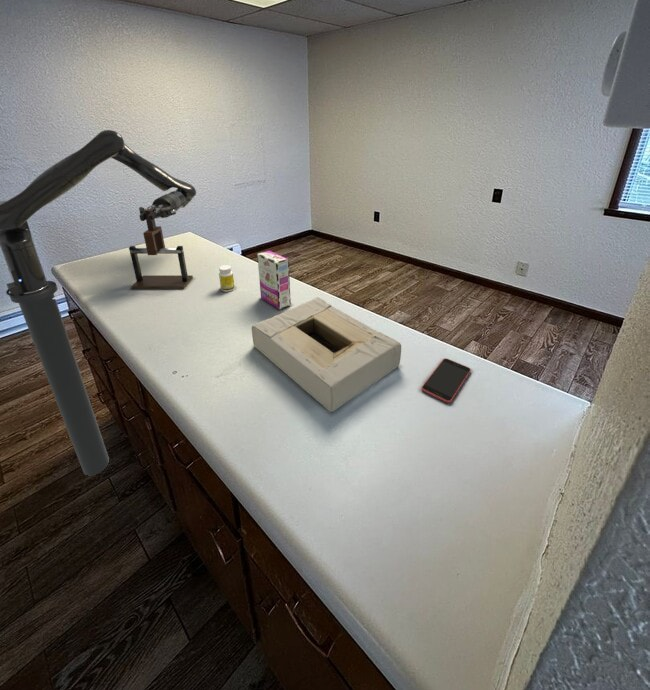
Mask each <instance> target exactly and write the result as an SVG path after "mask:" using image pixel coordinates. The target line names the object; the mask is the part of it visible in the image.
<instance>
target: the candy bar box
mask: <svg viewBox="0 0 650 690" xmlns="http://www.w3.org/2000/svg"><path fill="white" fill-rule="evenodd" d="M256 255H257V266H258V278H259V291H260V299H261V300H263V301H265V302H266V303H268V304H270V305H271V306H273V307H274V308H275V309H278V310H279V311H280V310H282V309H285V308H287V307H290V306H291V304H292V301H291V282H290V279H291V278H290V260H289V258H287V257H285V256H283V255H280V254H278V253H276V252H274V251H272V250H266V251H262V252H258V253H256Z"/></svg>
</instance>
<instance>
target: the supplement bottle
mask: <svg viewBox="0 0 650 690" xmlns="http://www.w3.org/2000/svg"><path fill="white" fill-rule="evenodd" d="M218 269H219V273H218V277H219V278H218V279H219V285H220V286H219V287H220V290H221V292H225V293H226V292H227V293H228V292H232V291H233V290H235V280H234V279H235V278H234V272H233V271H232V266H231V265H230V264H229V265H227V264H224V265H221V266H219V267H218Z"/></svg>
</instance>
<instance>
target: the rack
mask: <svg viewBox="0 0 650 690" xmlns="http://www.w3.org/2000/svg"><path fill="white" fill-rule="evenodd" d="M183 246H184V245H178V246H176V247H165V248H157V252H158V254H157V255H163V254H164V255H165V254H166V255H167V254H169V255H177V258H178V263H179V269H180V275H175V274H174V275H173V274H172V275H171V274H170V275H168V274H167V275H166V274H165V275H154V274H153V275H151V274H150V275H149V274H148V275H143V273H142V269H141V265H140V261H139V257H138V255H142V254H146V255H148V253H147V248H146V247H137V246H136V245H130V246H129V247H128V250H129V255H130V259H131V263H132V269H133V272H134V276H135V282H134V283H133V284H132V285H131V286H130V288H131V290H185V289H186V288H187V286H188V285H189V284H190V283H191V281H192V280H193V279H194V278H193V277H194V276H193V275H188V269H187V264H186V258H185V251H184V247H183Z"/></svg>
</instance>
